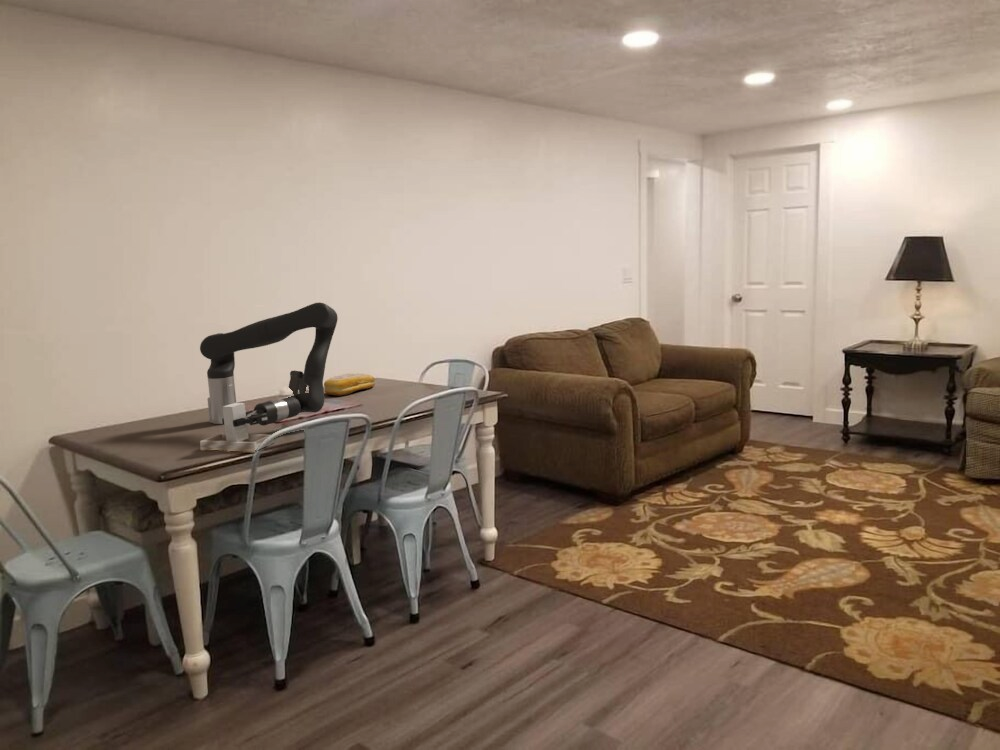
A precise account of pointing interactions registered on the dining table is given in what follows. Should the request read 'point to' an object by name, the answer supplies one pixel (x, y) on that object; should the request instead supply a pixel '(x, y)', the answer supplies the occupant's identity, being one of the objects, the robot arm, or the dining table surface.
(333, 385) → the bread
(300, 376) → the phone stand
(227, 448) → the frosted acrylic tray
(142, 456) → the dining table surface
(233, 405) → the skincare box
